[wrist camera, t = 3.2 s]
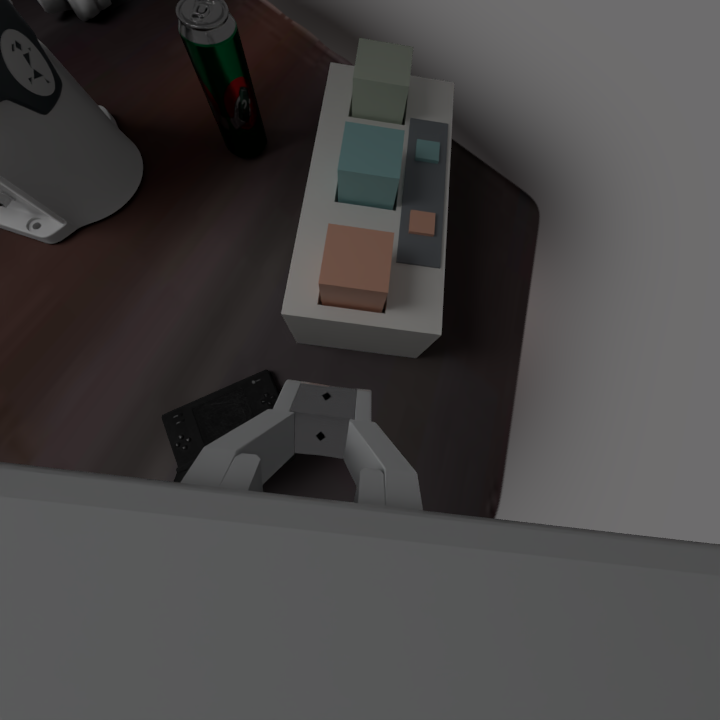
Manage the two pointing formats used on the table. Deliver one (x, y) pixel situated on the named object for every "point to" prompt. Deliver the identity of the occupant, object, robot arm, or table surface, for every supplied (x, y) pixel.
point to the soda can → (223, 73)
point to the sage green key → (381, 81)
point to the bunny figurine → (76, 7)
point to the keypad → (378, 226)
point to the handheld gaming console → (217, 417)
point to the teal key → (369, 165)
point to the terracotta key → (356, 268)
